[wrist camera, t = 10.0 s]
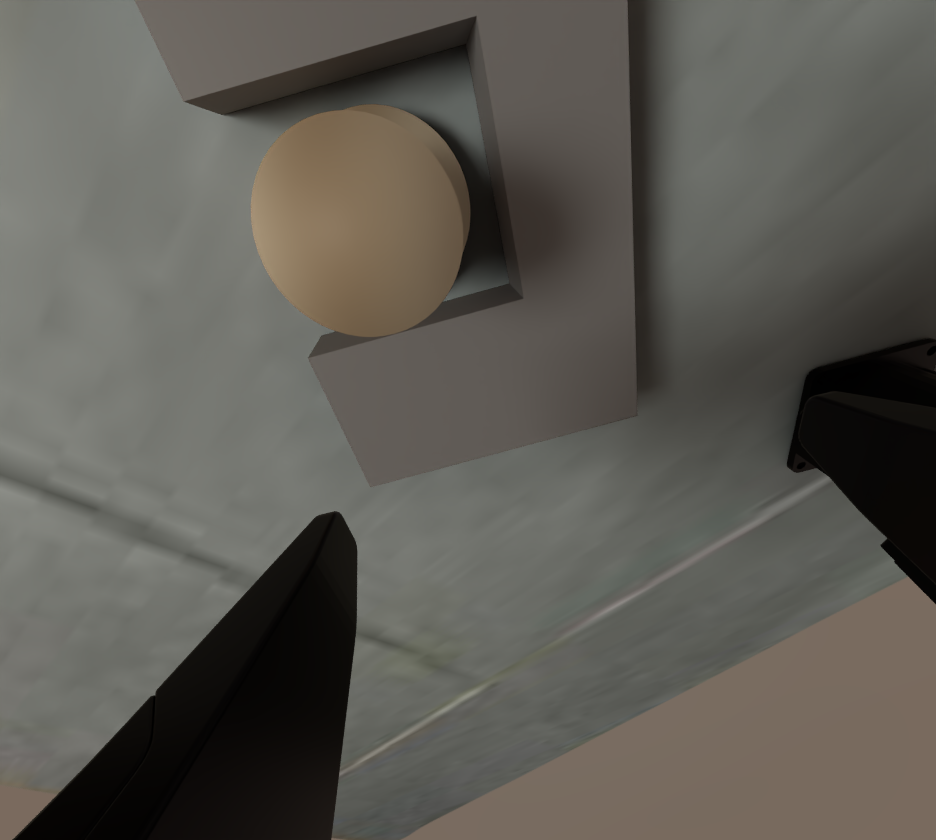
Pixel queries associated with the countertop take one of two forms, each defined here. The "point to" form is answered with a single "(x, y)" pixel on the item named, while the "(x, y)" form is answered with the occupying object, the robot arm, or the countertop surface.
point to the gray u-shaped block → (516, 199)
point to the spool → (361, 218)
